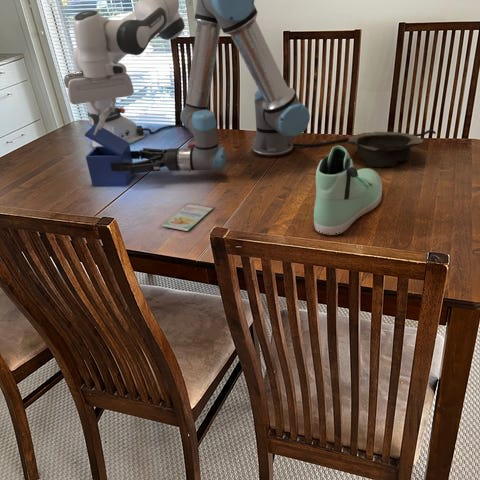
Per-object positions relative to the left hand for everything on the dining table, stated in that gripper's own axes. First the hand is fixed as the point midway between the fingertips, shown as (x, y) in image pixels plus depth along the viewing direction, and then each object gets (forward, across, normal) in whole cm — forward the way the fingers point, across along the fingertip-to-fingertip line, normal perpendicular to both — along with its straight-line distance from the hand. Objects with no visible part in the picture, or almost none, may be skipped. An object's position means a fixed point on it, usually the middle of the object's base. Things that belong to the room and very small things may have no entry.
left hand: (105, 113), depth 156 cm
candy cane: (+23, +30, +12) cm, 40 cm away
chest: (+24, -1, +1) cm, 24 cm away
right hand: (+16, 0, 0) cm, 17 cm away
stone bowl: (+22, +87, -33) cm, 96 cm away
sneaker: (+22, +56, -58) cm, 84 cm away
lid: (+9, -1, +1) cm, 9 cm away
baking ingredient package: (+23, +13, -39) cm, 47 cm away
